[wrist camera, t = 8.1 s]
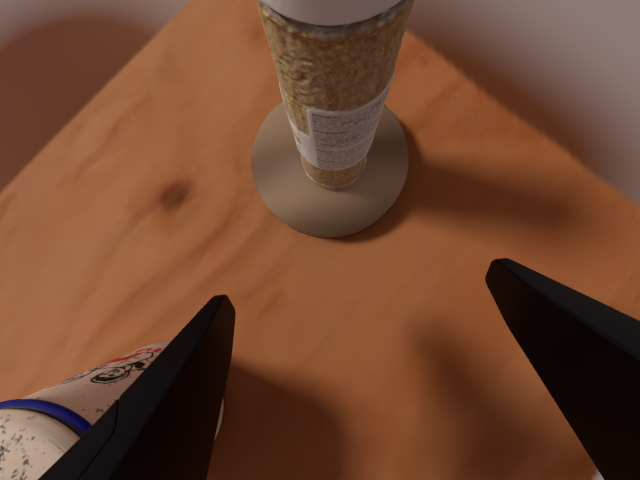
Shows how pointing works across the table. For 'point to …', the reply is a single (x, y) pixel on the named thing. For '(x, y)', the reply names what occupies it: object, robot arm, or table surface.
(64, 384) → the cream ceramic jar
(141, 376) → the robot arm
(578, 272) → the table surface
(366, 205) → the grey-brown round disc
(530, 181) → the table surface
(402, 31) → the sprinkles bottle
